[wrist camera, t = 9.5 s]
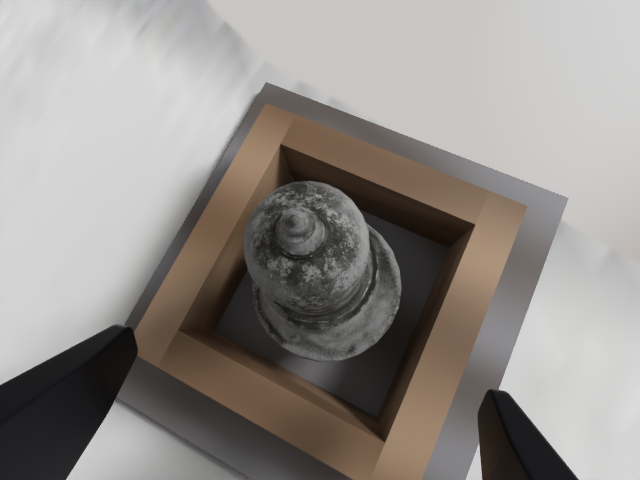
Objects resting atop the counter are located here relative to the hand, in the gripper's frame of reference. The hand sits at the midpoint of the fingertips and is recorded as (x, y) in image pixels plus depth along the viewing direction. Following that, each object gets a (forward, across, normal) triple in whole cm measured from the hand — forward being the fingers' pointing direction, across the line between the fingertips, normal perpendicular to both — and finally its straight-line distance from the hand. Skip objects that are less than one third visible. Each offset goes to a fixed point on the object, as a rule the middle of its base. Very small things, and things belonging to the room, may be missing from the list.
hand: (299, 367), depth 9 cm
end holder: (+9, 0, +4) cm, 10 cm away
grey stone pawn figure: (+8, 0, +4) cm, 9 cm away
